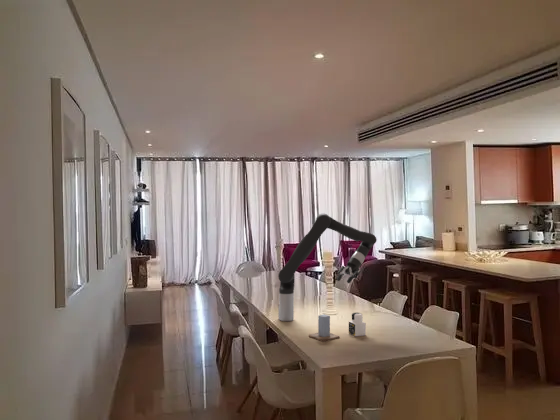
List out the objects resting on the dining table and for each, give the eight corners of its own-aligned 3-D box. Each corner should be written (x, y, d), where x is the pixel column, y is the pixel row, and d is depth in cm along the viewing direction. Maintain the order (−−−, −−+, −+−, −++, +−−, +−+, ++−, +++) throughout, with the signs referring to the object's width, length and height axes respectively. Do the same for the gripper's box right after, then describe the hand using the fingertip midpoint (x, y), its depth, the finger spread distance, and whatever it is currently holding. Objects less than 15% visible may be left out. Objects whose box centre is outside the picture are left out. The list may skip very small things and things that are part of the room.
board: (308, 336, 252) (308, 334, 252) (324, 332, 259) (324, 331, 259) (323, 341, 243) (323, 339, 243) (339, 337, 250) (339, 336, 250)
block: (318, 335, 251) (318, 315, 251) (324, 333, 254) (324, 314, 254) (323, 337, 248) (323, 317, 248) (329, 335, 251) (329, 315, 251)
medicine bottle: (348, 333, 259) (348, 312, 259) (359, 332, 261) (359, 311, 261) (354, 336, 252) (354, 315, 252) (365, 335, 255) (365, 314, 255)
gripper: (344, 255, 280) (331, 275, 273) (362, 258, 268) (348, 279, 262) (350, 263, 283) (337, 283, 276) (368, 266, 271) (354, 287, 265)
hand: (342, 281), depth 269 cm, fingers open, 8 cm apart
